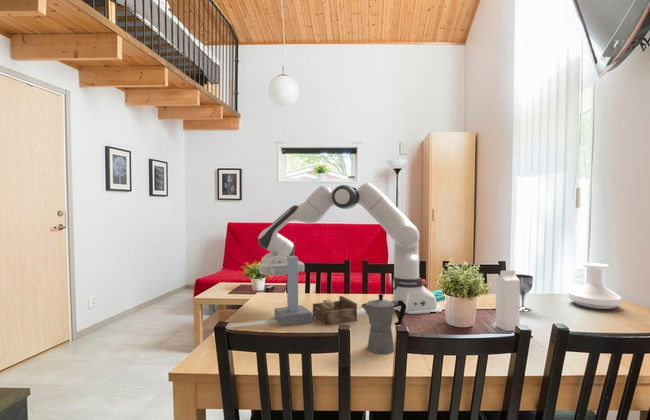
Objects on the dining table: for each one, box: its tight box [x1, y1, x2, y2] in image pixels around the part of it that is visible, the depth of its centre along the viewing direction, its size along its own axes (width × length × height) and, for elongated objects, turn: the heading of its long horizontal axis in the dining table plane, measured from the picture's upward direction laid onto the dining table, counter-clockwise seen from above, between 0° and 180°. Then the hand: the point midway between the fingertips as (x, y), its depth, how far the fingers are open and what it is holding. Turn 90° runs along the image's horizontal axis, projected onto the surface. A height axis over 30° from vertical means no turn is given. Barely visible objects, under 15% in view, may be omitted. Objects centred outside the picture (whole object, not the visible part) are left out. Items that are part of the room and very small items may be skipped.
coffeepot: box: [360, 293, 406, 355], centre depth 123 cm, size 15×9×18 cm, turn 101°
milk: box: [495, 270, 521, 332], centre depth 143 cm, size 6×6×22 cm
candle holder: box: [568, 262, 622, 310], centre depth 174 cm, size 20×20×19 cm
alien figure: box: [429, 289, 446, 302], centre depth 190 cm, size 20×2×20 cm
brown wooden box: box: [312, 295, 358, 326], centre depth 157 cm, size 14×14×7 cm
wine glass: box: [515, 273, 534, 312], centre depth 169 cm, size 8×8×15 cm
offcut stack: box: [321, 299, 334, 312], centre depth 155 cm, size 3×8×7 cm, turn 23°
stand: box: [274, 304, 313, 327], centre depth 154 cm, size 12×12×4 cm
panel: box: [286, 255, 299, 312], centre depth 154 cm, size 3×5×22 cm, turn 23°
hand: (286, 270), depth 160 cm, fingers open, 8 cm apart
